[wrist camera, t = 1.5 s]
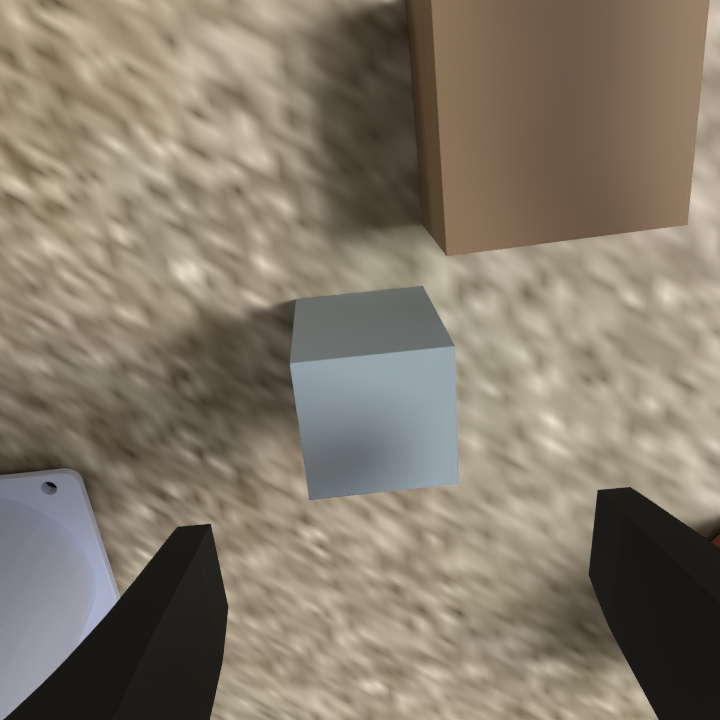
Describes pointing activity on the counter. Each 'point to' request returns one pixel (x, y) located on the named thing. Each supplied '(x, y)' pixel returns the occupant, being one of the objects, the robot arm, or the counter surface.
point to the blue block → (374, 393)
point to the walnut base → (554, 117)
